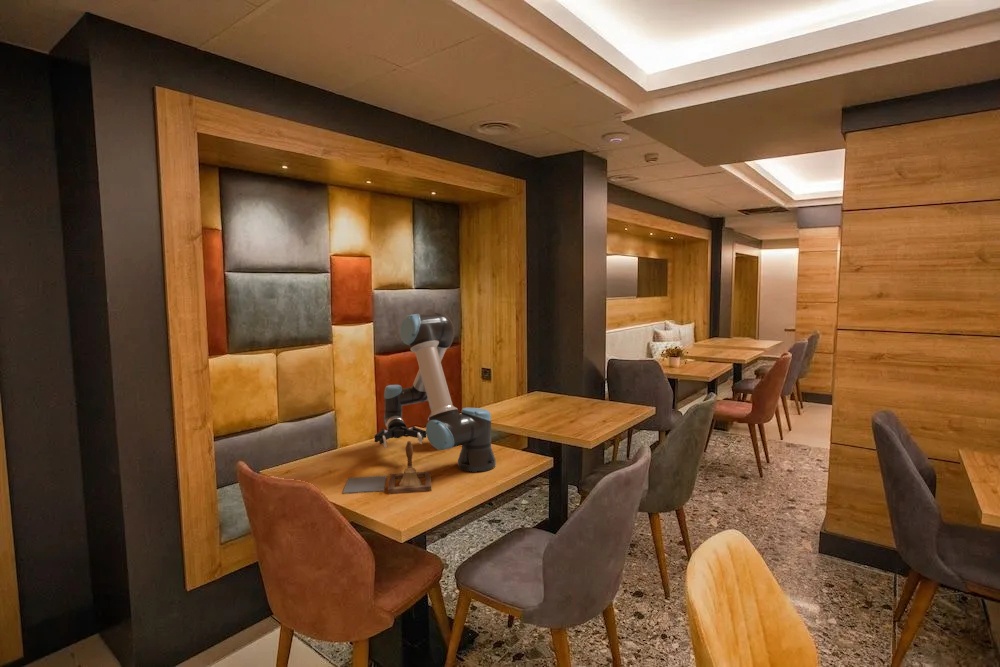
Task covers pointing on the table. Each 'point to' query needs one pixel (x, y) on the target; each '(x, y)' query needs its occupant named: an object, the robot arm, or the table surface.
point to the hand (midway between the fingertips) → (403, 442)
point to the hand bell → (409, 470)
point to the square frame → (409, 488)
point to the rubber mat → (365, 484)
